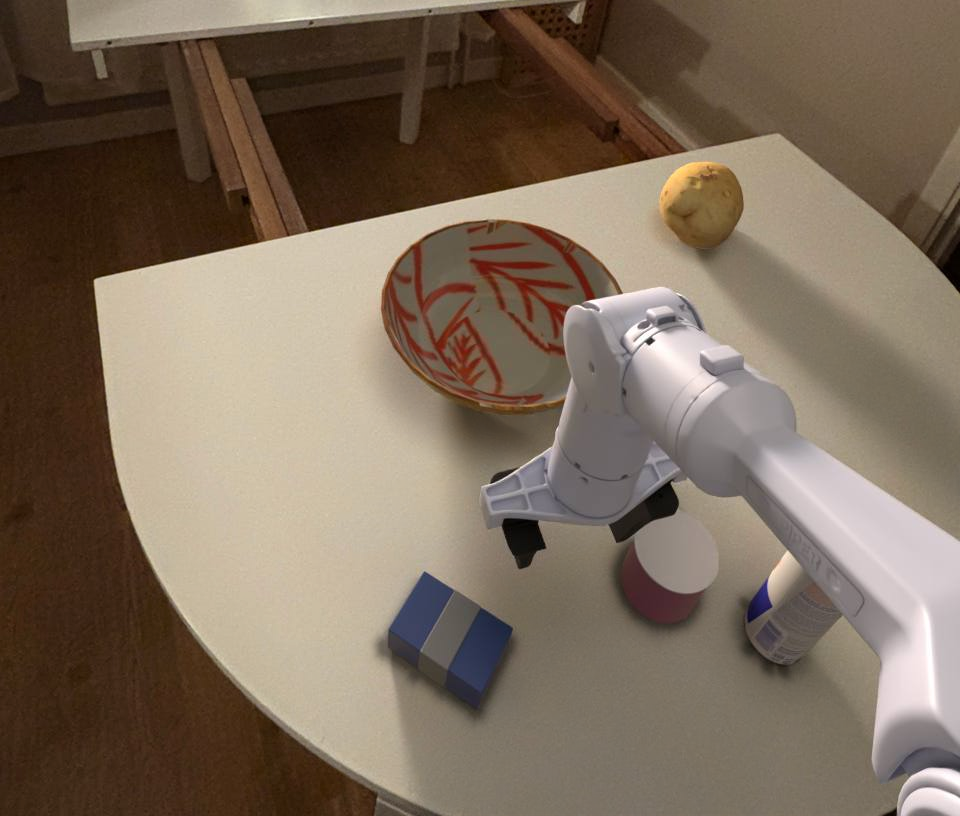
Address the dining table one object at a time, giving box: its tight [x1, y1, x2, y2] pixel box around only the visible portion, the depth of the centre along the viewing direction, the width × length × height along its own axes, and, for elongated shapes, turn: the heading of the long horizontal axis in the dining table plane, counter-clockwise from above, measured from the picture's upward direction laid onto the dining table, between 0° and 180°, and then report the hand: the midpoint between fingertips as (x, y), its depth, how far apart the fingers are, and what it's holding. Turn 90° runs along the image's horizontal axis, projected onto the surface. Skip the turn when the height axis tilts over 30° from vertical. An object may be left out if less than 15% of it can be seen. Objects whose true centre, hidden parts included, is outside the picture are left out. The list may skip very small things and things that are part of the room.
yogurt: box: [620, 509, 720, 624], centre depth 63 cm, size 7×7×6 cm
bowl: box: [380, 218, 624, 416], centre depth 79 cm, size 25×25×8 cm
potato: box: [659, 161, 745, 250], centre depth 97 cm, size 10×12×10 cm
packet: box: [387, 570, 514, 710], centre depth 58 cm, size 8×5×4 cm, turn 61°
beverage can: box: [743, 550, 843, 665], centre depth 58 cm, size 5×5×15 cm
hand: (567, 542), depth 56 cm, fingers open, 7 cm apart
